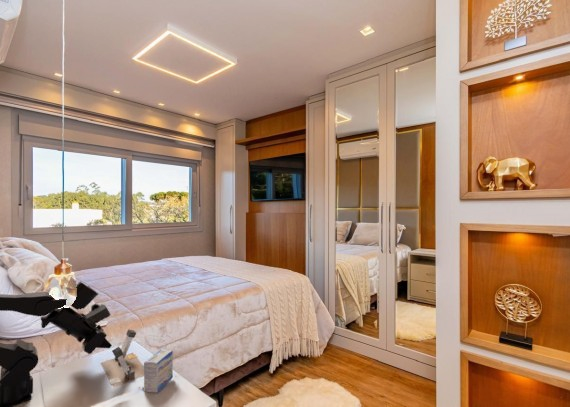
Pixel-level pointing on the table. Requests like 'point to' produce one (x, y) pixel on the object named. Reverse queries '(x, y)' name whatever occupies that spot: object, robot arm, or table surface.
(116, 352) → the near lever
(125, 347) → the far lever
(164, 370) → the medicine box
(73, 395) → the table surface
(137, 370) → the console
